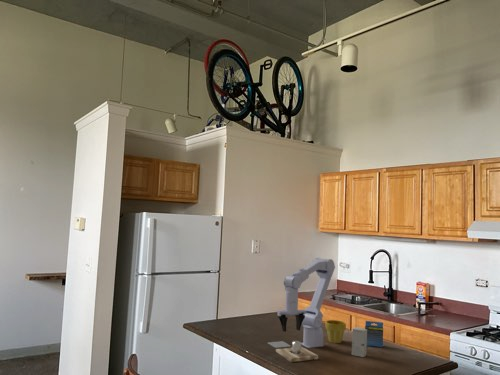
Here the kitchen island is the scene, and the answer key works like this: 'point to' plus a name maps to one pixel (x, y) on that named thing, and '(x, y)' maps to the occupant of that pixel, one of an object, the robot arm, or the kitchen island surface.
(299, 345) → the steel peg
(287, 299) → the robot arm
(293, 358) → the hole plate
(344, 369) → the kitchen island surface
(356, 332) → the skincare box
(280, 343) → the pad
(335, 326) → the plant pot
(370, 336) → the label tape box
